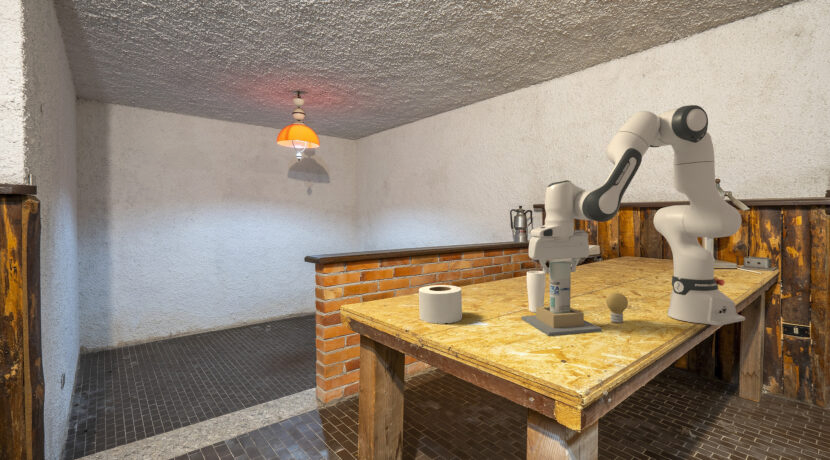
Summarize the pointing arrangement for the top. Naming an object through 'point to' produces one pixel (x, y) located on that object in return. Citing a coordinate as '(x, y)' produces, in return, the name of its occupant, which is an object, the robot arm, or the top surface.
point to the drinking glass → (535, 289)
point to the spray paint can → (560, 286)
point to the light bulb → (616, 306)
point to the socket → (560, 322)
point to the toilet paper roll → (440, 304)
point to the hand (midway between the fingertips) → (559, 272)
